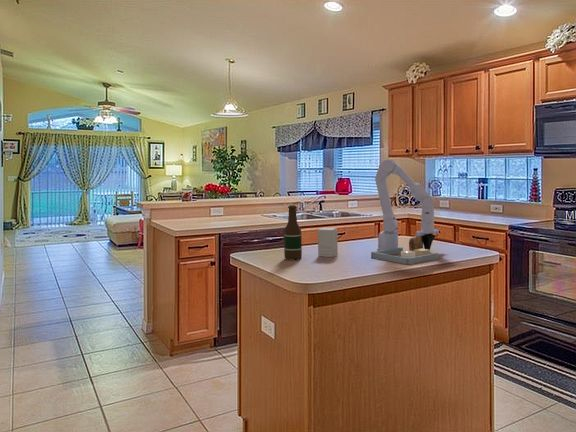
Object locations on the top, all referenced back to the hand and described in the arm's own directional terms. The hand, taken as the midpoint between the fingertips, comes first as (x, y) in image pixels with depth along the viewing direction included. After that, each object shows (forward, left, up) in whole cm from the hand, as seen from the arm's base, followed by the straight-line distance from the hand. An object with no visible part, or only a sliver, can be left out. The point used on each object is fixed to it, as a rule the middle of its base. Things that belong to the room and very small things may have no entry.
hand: (427, 250), depth 222 cm
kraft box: (+9, -14, -1) cm, 17 cm away
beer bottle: (-27, -59, -1) cm, 65 cm away
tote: (+4, -20, -1) cm, 20 cm away
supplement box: (-23, -42, -1) cm, 48 cm away
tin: (+1, -9, -1) cm, 9 cm away
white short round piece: (+9, -23, -1) cm, 25 cm away
